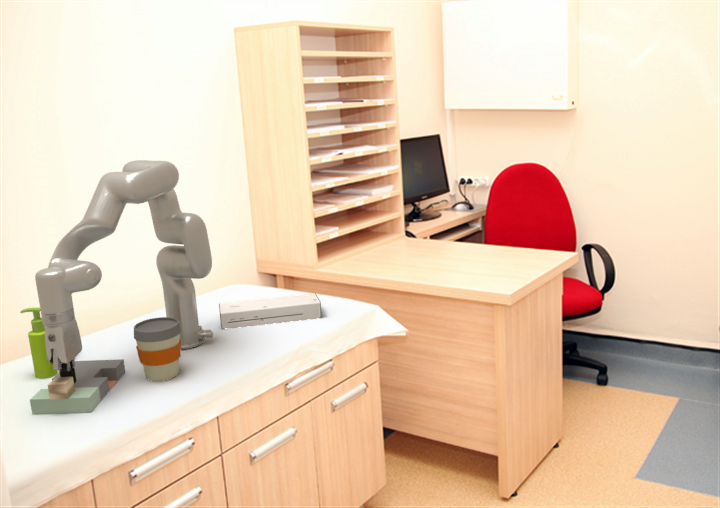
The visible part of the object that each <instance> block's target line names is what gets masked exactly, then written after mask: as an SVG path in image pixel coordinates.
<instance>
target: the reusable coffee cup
mask: <svg viewBox="0 0 720 508" xmlns="http://www.w3.org/2000/svg"><path fill="white" fill-rule="evenodd" d="M180 332H181V329H180V325H179V321H178V320H177V319H175V318H170V317H166V316H164V317H163V316H162V317H154V318H153V317H152V318H148V319H144V320H143V321H140V322H138V323H136V324H135V325H134V326H133V339H134V340H135V342H136V352H137V355H138V360H139V363H140V364H141V365H142V367H143V371H144V375H145V379H147V380H148V379H149V380H148V381H150V380H152V381H151V382H164V381H163V380H165V381H168V380H167V379H169V380H171V378H172V379H174V378H175V376H176V375H177V374H178V373H180V358H181V356H182V354H181V353H182V350H181V340H180ZM178 375H179V374H178ZM178 375H177V376H178ZM177 376H176V377H177ZM173 377H174V378H173Z"/></svg>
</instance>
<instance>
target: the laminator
mask: <svg viewBox="0 0 720 508" xmlns="http://www.w3.org/2000/svg"><path fill="white" fill-rule="evenodd" d="M218 307H219V308H218V309H219V319H220V327H221V330H223V329H224V330H226V329H225V328H232V329H239V328H238V327H241V328H248V327H247V326H250V327H256V326H257V325H258V326H265V324H267V325H274V324H273V323H276V324H283V323H282V322H284V323H291V322H290V321H293V322H300V321H299V320H301V321H308V320H307V319H310V320H317V318H319V319H321V318H322V303H321V300H320V299H319V296H318V295H317V294H316V292H315V293H313V292H312V293H305V294H297V295H287V296H286V295H285V296H278V297H277V296H276V297H269V298H258V299H250V300H249V299H248V300H241V301H239V300H238V301H233V302H232V301H231V302H222V303H221V302H220V303H218Z"/></svg>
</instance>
